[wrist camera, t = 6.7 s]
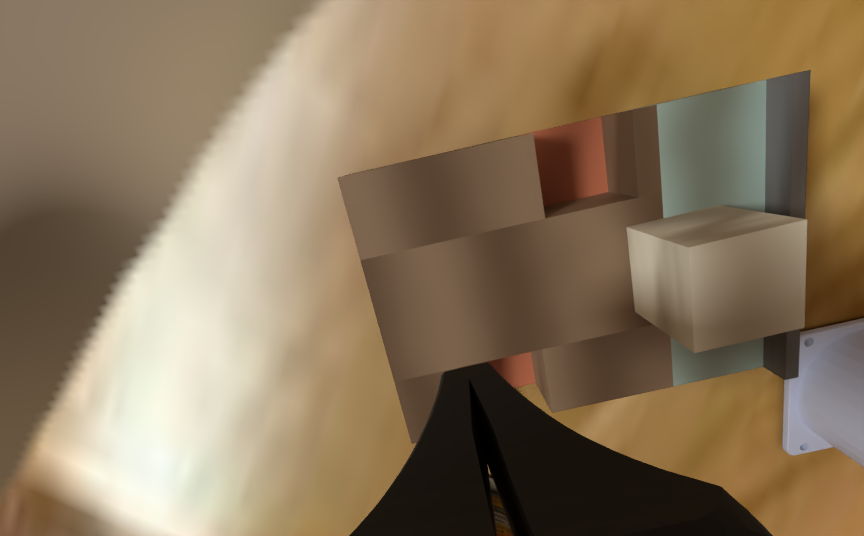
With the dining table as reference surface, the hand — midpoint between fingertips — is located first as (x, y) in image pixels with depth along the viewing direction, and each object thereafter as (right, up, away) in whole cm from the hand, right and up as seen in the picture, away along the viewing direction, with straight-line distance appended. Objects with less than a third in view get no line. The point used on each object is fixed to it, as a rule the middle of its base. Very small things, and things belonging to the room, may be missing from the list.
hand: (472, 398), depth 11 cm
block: (+10, +4, +7) cm, 12 cm away
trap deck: (+5, +4, +10) cm, 11 cm away
